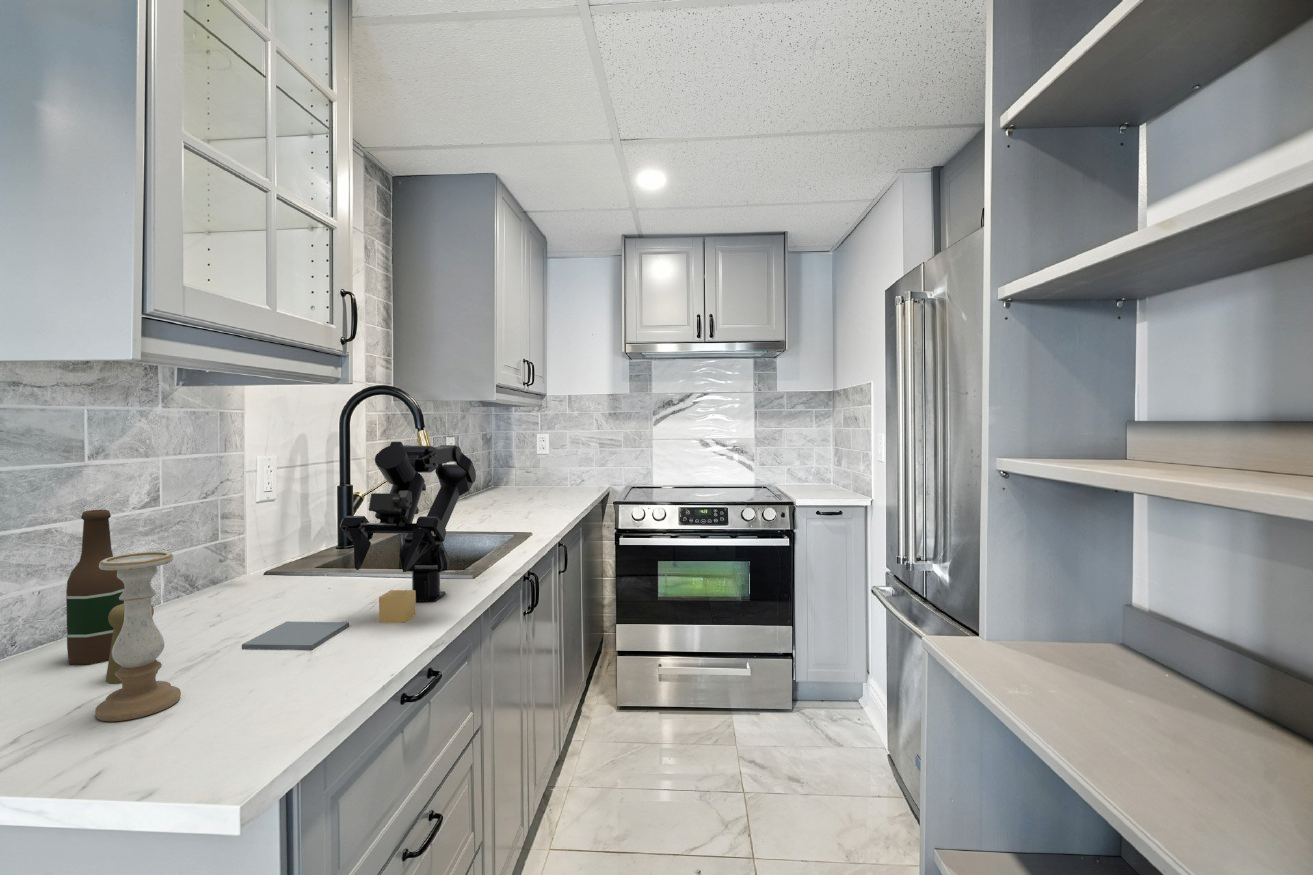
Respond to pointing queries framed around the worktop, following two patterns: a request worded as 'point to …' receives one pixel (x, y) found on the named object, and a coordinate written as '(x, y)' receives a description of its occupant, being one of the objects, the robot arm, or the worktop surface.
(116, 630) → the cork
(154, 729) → the worktop surface
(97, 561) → the beer bottle
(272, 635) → the grey mat
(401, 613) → the ochre cube
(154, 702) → the candle holder
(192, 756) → the worktop surface
